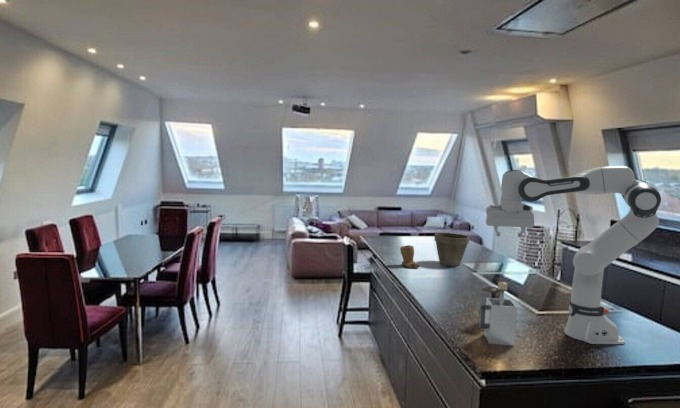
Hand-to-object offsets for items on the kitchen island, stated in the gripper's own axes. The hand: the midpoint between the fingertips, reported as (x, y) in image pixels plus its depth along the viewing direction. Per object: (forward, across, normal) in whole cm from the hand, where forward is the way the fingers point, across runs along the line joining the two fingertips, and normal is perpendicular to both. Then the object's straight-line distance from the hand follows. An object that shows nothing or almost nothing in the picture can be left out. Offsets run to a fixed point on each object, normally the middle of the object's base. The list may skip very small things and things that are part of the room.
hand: (508, 236), depth 195 cm
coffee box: (+41, -6, +2) cm, 41 cm away
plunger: (+39, -6, -19) cm, 44 cm away
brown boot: (+40, -40, +108) cm, 122 cm away
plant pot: (+40, -8, +124) cm, 131 cm away
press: (+41, -8, -18) cm, 46 cm away
